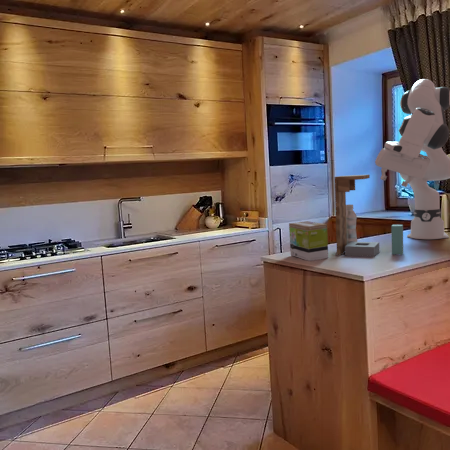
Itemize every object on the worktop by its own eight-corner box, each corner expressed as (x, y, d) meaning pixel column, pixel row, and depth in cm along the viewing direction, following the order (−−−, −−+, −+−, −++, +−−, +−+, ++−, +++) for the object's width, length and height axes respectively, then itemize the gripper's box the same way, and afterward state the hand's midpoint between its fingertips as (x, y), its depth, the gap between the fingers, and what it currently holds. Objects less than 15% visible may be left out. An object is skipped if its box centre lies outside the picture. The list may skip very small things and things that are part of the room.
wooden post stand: (343, 250, 206) (341, 175, 203) (371, 251, 201) (369, 174, 197) (336, 255, 196) (334, 176, 192) (365, 256, 190) (363, 175, 186)
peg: (393, 252, 194) (392, 224, 193) (403, 252, 193) (402, 224, 191) (391, 254, 191) (391, 225, 190) (402, 254, 189) (401, 226, 188)
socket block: (351, 250, 205) (351, 241, 204) (379, 251, 199) (379, 242, 199) (345, 255, 194) (344, 246, 194) (374, 256, 189) (374, 247, 188)
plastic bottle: (358, 249, 207) (357, 205, 205) (343, 249, 209) (341, 205, 206) (357, 246, 213) (356, 203, 211) (342, 246, 215) (341, 204, 212)
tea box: (289, 256, 201) (288, 222, 199) (308, 253, 205) (307, 220, 203) (308, 261, 187) (307, 225, 185) (329, 258, 191) (328, 223, 189)
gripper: (428, 155, 182) (412, 187, 187) (382, 141, 179) (367, 173, 184) (435, 159, 177) (419, 192, 181) (388, 144, 173) (373, 178, 178)
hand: (393, 182), depth 183 cm, fingers open, 8 cm apart
